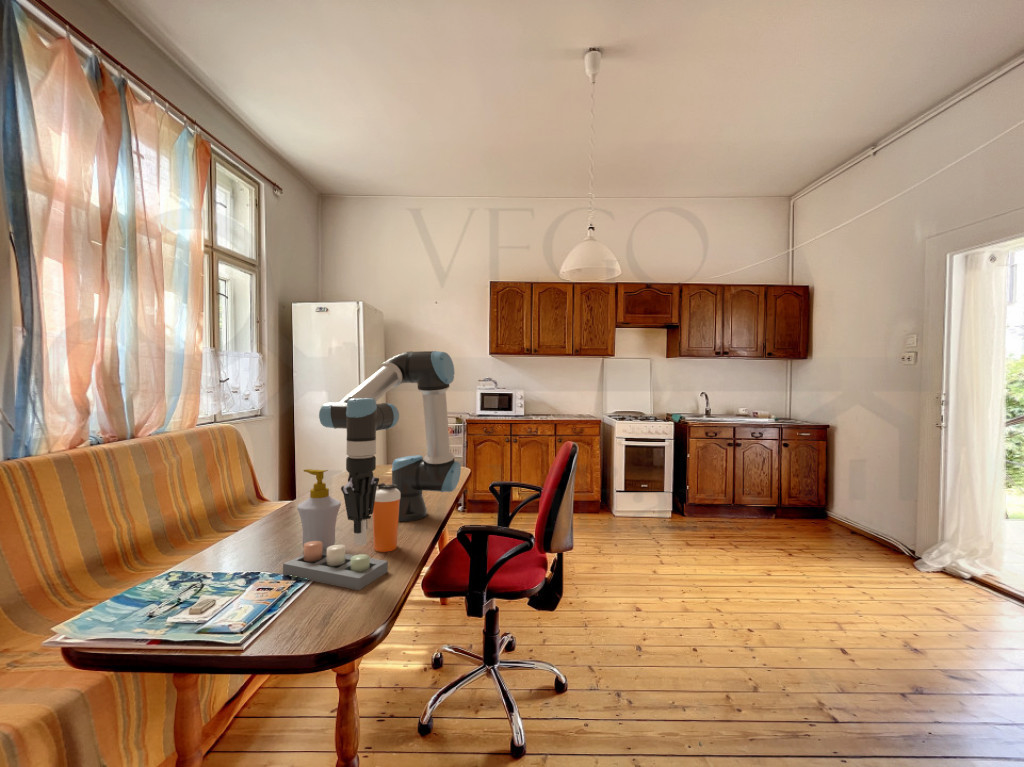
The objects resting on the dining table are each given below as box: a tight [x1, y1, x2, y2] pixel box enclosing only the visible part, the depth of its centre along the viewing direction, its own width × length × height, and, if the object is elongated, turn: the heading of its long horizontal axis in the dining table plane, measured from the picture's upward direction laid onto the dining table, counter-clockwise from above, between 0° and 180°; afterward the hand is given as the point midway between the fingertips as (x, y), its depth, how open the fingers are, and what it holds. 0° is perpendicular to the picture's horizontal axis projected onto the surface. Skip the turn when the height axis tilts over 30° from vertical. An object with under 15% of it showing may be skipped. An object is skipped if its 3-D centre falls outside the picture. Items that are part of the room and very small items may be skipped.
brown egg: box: [303, 541, 322, 562], centre depth 127 cm, size 5×5×4 cm
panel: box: [282, 550, 389, 591], centre depth 125 cm, size 12×25×3 cm, turn 70°
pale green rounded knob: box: [351, 553, 371, 573], centre depth 122 cm, size 5×5×4 cm
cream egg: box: [327, 544, 346, 566], centre depth 125 cm, size 5×5×4 cm
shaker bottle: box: [372, 482, 400, 553], centre depth 144 cm, size 9×9×20 cm
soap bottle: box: [296, 468, 342, 550], centre depth 143 cm, size 13×13×25 cm
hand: (360, 543), depth 122 cm, fingers closed
